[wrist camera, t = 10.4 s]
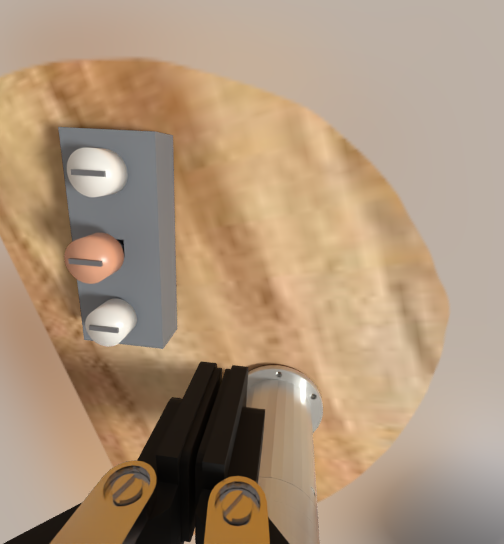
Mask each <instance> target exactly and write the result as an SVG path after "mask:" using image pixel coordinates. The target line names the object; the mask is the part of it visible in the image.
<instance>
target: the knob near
mask: <svg viewBox="0 0 504 544" xmlns="http://www.w3.org/2000/svg"><path fill="white" fill-rule="evenodd" d="M67 175H68V178H69V181H70V183H71V184H72V186H73V187H74V188H75V189H76V190H77V191H78V192H79V193H81V194H82V195H85V196H87V197H99V196H105V195H111V194H115V193H118V192H119V191H121V190H122V189H123V188H124V186H125V184H126V182H127V176H128V173H127V168H126V165H125V163H124V161H123V159H122V158H121V157H120V156H119V155H118V154H117V153H116V152H114V151H112V150H109V149H102V148H87V147H86V148H80V149H77V150H75V151H74V152H73V153H72V154H71V155H70V157H69V159H68V162H67Z"/></svg>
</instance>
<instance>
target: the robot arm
mask: <svg viewBox="0 0 504 544" xmlns="http://www.w3.org/2000/svg"><path fill="white" fill-rule="evenodd" d="M322 416H323V403H322V398H321V395H320V392H319V390H318V389H317V387H316V385H315V384H314V383H313V382H312V381H311V380H310V379H309V378H308V377H307V376H305V375H304V374H303V373H301V372H299V371H297V370H295V369H292V368H289V367H285V366H279V365H268V366H262V367H258V368H255V369H253V370H251V371H249V372H248V367H243V366H235V365H233V366H232V368H231V369H226V370H225V373H224V376H223V379H222V368H217V364H216V363H209V362H200V364H199V366H198V368H197V370H196V372H195V374H194V376H193V378H192V380H191V383H190V385H189V387H188V389H187V391H186V393H185V395H184V397H183V399H181V398H173V397H172V398H171V399H170V400H169V402H168V404H167V406H166V407H165V409H164V411H163V413H162V415H161V417H160V419H159V421H158V422H157V424H156V426H155V428H154V430H153V432H152V434H151V436H150V438H149V439H148V441H147V443H146V445H145V447H144V449H143V451H142V453H141V455H140V456H139V458H138V460H137V461H136V460H135V461H127V462H124V463H121V464H118V465H117V466H115V467H113V468H112V469H110V470H109V471H108V472H107V473H106V474H105V475H104V476H103V477H102V478H101V480H100V481H99V482H98V484H97V485H96V486H95V487H94V489H93V490H92V491H91V492H90V493H89V495H88V496H87V497H86V499H85V500H84V501H83V502H82V503H80V504H78V505H76V506H75V507H73V508H71V509H69V510H67V511H65V512H63V513H61V514H59V515H57V516H55V517H53V518H51V519H49V520H48V521H46V522H44V523H42V524H40V525H38V526H36V527H34V528H32V529H30V530H28V531H26V532H24V533H23V534H21V535H19V536H17V537H15V538H13V539H11V540H9V541H7V542H6V543H4V544H184V541H186V542H190V541H191V539H192V536H193V532H194V529H195V540H196V544H320V540H319V525H318V511H317V494H316V478H315V462H314V445H313V433H314V431H315V430H316V429H317V428H318V426H319V424H320V422H321V419H322Z"/></svg>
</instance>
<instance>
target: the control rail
mask: <svg viewBox="0 0 504 544" xmlns="http://www.w3.org/2000/svg"><path fill="white" fill-rule="evenodd" d="M58 128H59V137H60V145H61V153H62V161H63V169H64V178H65V186H66V194H67V202H68V210H69V219H70V227H71V235H72V242H73V241H75V240H77V239H80V238H83V237H86V236H88V235H91V234H94V233H106V234H109V235H111V236H113V237H114V238H115V239H116V240H117V241H121V242H122V243H123V244H124V250H123V252H124V261H123V264H122V266H121V268H120V269H119V270H118V271H116V272H115V273H113V274H111V275H110V276H108V277H107V278H105V279H103V280H102V281H100V282H98V283H94V284H88V283H83V282H81V281H79V280H77V284H78V292H79V300H80V309H81V317H82V325H83V333H84V340H91V341H94V340H92V339H91V338H90V336H89V335H88V333H87V331H86V327H85V321H86V318H87V316H88V315H89V314H90V313H91V312H92V311H94V310H95V309H96V308H98V307H99V306H100V305H102V304H103V303H104V302H106V301H107V300H110V299H121V300H124V301H126V302H127V303H129V304H130V305H131V306H132V307H133V309H134V310H135V313H136V316H137V322H136V325H135V327H134V328H133V329H132V330H131V331H130V332H129V333H128V334H127V336H126V337H125V338H124V339H123V340H122V341H121V342H120V343H118V344H126V345H134V346H143V347H152V348H160V349H163V348H164V347H165V345H166V344H167V343H168V341H169V340H170V338H171V337H172V336H173V334H174V333H175V331H176V330H177V301H176V256H175V211H174V165H173V135H168V134H164V133H159V132H152V131H131V130H110V129H88V128H67V127H58ZM86 147H87V148H102V149H109V150H112V151H114V152H116V153H117V154H118V155H119V156H120V157H121V158H122V159H123V161H124V163H125V165H126V168H127V173H128V176H127V182H126V184H125V186H124V188H123V189H122V190H121V191H119V192H118V193H115V194H111V195H105V196H99V197H87V196H85V195H82V194H81V193H79V192H78V191H77V190H76V189H75V188H74V187H73V186H72V184H71V183H70V181H69V178H68V175H67V162H68V159H69V157H70V155H71V154H72V153H73V152H74V151H75V150H77V149H80V148H86Z"/></svg>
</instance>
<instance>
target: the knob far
mask: <svg viewBox="0 0 504 544" xmlns="http://www.w3.org/2000/svg"><path fill="white" fill-rule="evenodd" d="M136 322H137V316H136V313H135V310H134V309H133V307H132V306H131V305H130V304H129V303H127V302H126V301H124V300H121V299H110V300H107V301H106V302H104V303H103V304H102V305H100V306H99V307H98V308H96V309H95V310H94V311H92V312H91V313H90V314H89V315H88V316H87V318H86V321H85V327H86V331H87V333H88V335H89V336H90V338H91V339H92V340H94V341H95V342H96V343H98V344H100V345H103V346H114V345H117V344H118V343H120V342H121V341H122V340H123V339H124V338H125V337H126V336H127V334H128V333H129V332H130V331H131V330H132V329H133V328H134V327H135V325H136Z"/></svg>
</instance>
